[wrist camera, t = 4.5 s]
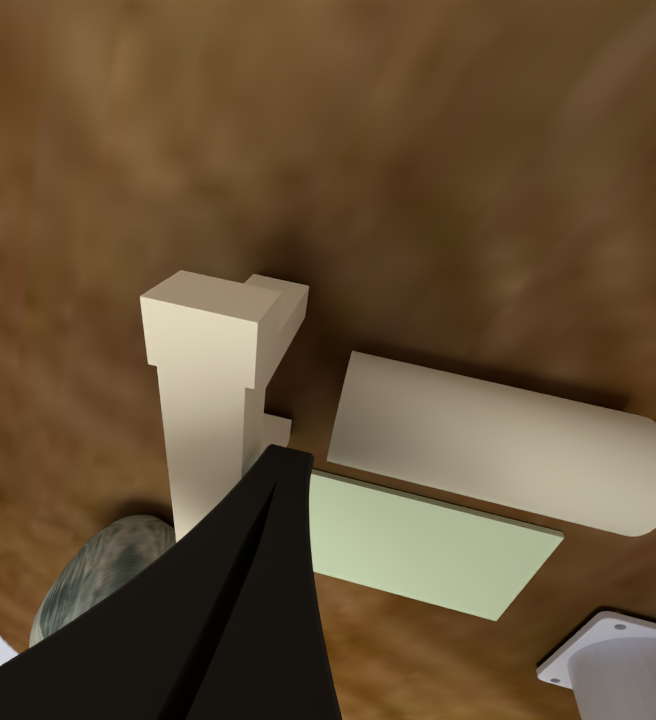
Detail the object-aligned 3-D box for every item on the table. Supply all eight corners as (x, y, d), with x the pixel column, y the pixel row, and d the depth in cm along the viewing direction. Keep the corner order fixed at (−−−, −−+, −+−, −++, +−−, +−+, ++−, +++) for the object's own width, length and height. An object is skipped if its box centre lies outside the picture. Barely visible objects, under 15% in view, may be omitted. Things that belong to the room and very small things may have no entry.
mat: (562, 531, 18) (564, 538, 17) (495, 615, 22) (495, 621, 22) (266, 457, 19) (263, 461, 18) (257, 551, 23) (255, 555, 23)
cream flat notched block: (321, 240, 12) (257, 322, 7) (293, 441, 17) (243, 574, 12) (249, 226, 13) (139, 296, 8) (242, 428, 18) (172, 554, 12)
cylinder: (629, 393, 14) (704, 473, 10) (576, 473, 16) (625, 563, 12) (357, 332, 15) (341, 388, 11) (338, 416, 17) (321, 485, 13)
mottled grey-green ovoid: (25, 509, 19) (-52, 808, 13) (226, 492, 22) (235, 724, 17) (73, 569, 29) (41, 755, 23) (206, 551, 32) (208, 709, 27)
